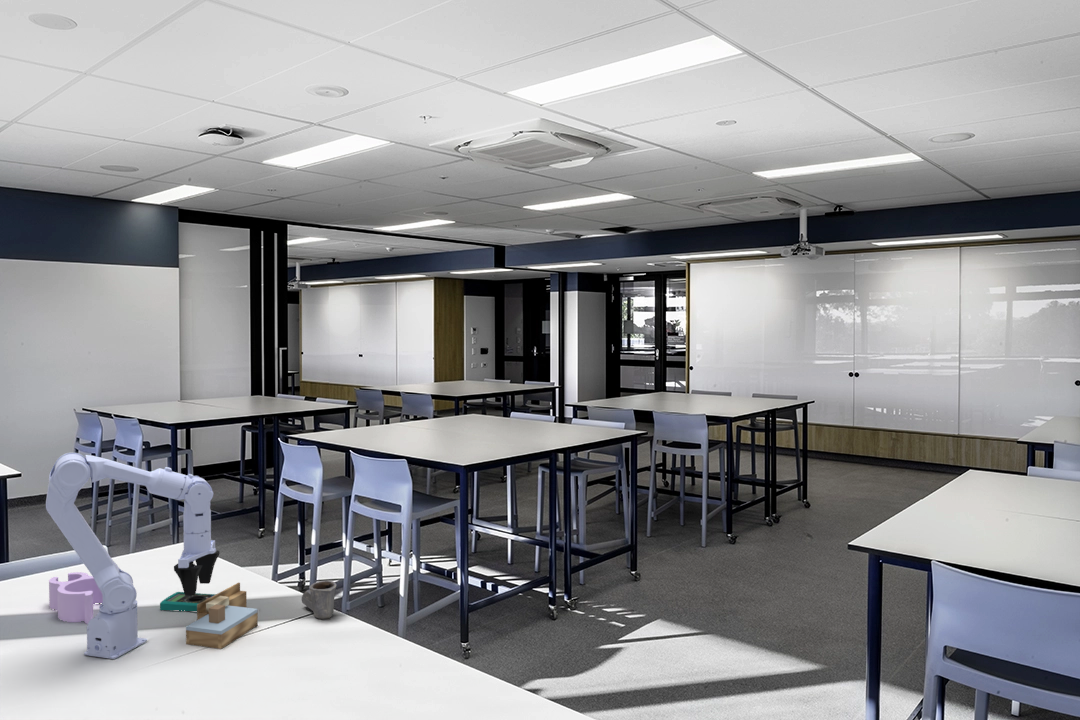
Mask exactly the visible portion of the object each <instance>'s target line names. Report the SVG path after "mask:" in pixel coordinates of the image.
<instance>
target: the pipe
mask: <svg viewBox="0 0 1080 720" xmlns="http://www.w3.org/2000/svg"><path fill="white" fill-rule="evenodd" d="M337 586H338V585H337V583H336V582H335V581H333V580H321V581H316V582H313V583H311V585H310V586H309V589H306V590H305V592H303V594H302V595H301V603H302V604H303V605H305V606H306V607H307V608H309V610H311V611H313V616H314V617H315V618H316V619H320V620H326V619H330V618H331V617H332V616H333V615H334V611H335V610H334V609H335V608H334V607H335V595H336V589H337Z"/></svg>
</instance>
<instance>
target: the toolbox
mask: <svg viewBox="0 0 1080 720" xmlns="http://www.w3.org/2000/svg"><path fill="white" fill-rule="evenodd" d="M219 596H225V597H229V606H237V607H246V608H248V607H247V602H248V601H247V591H246V590H241V582H236V583H235V584H233V585H231V586H229V587H227V588H226V589H223V590H221V591H220V592H218V593H216V595H214V596H212V597H210V598H208V599H206V600H205V601H203V602H201V603H199V604H197V612H196V621H197V620H198V619H200V618H202V617H204V616H206V615H207V614H209V612H208V611H206V603H208V602H210V601H212V600H214V599H216V598H217V597H219ZM258 616H259V615H258V612H257V613H255V614H254V615H252V616H251V617H249V618H247V619H246V620H244V621H243V622H241V623H239V624H238V625H236V626H234V627H233V628H231V629H230V630H228V631H226V632H225V633H223V634H221V635H220V634H213V633H205V632H197V631H189V630H186V629H185V644H186V645H188V646H196V647H204V648H212V649H217V650H218V649H220V650H222V649H223V648H225V647H227V646H228V645H230V644H232V643H233V642H234V641H236V640H238V639H239V638H241V637H242V636H244V635H245V634H247V633H249V632H250V631H251V630H253V629H255V628H256V627H257V626H258V623H259V622H258Z"/></svg>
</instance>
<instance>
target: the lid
mask: <svg viewBox="0 0 1080 720" xmlns="http://www.w3.org/2000/svg"><path fill="white" fill-rule="evenodd" d="M257 612H258V608H252V607H247V608H246V607H237V606H229V605H227V606H225V605H217V604H216V605H214V606H212V607H210V608H209V614H207V615H206V616H204V617H202V618H200V619H198V620H197V619H196V620H195V621H193V622H191V623H190V624H189V625H186V626H185V631H186V630H189V631H197V632H205V633H213V634H220V635H221V634H223V633H225V632H226V631H228V630H230V629H231V628H233V627H234V626H236V625H238V624H239V623H241V622H243V621H244V620H246V619H247V618H249V617H251V616H252V615H254V614H255V613H257Z"/></svg>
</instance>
